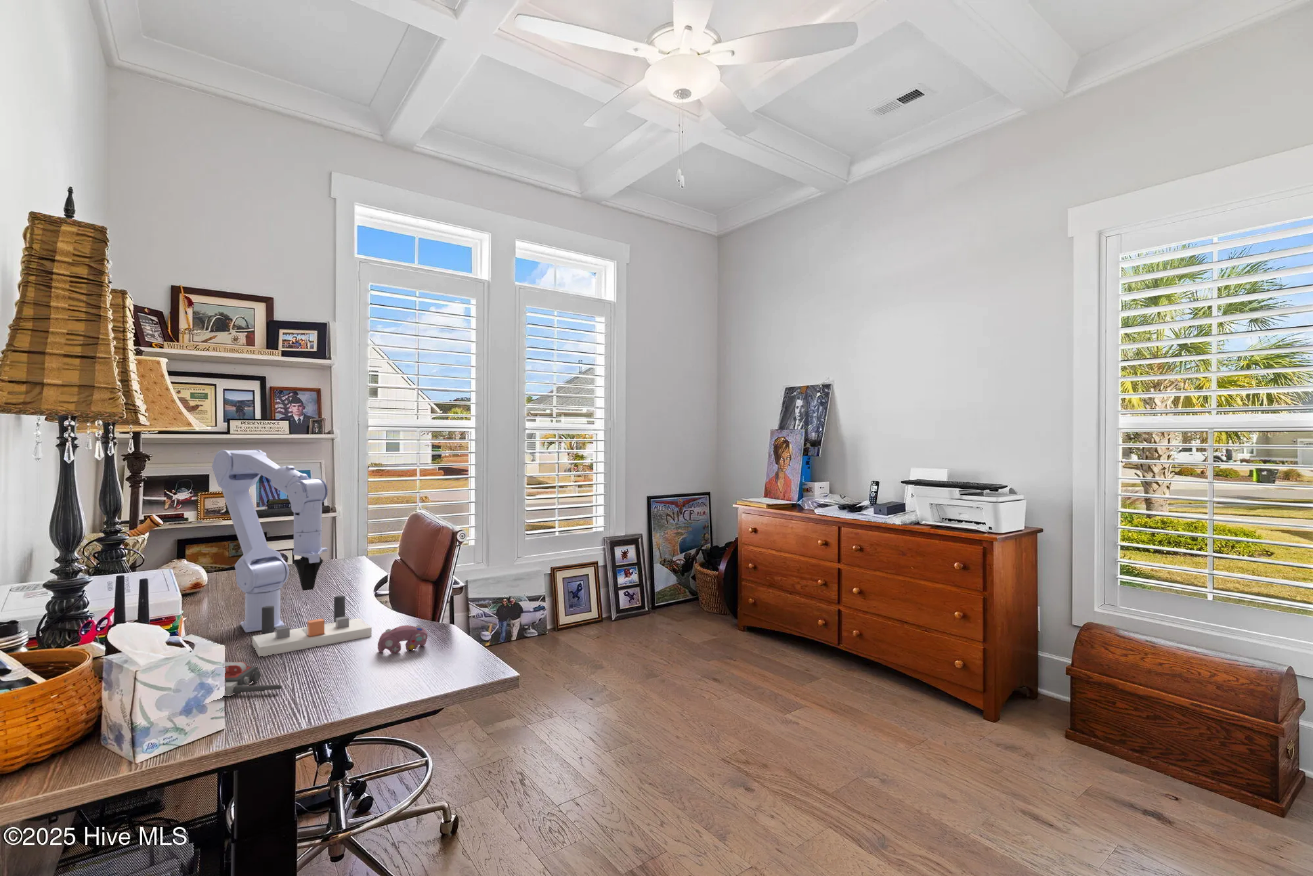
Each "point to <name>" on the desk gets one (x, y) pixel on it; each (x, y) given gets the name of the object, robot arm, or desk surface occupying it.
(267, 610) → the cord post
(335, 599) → the post
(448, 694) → the desk surface
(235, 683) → the toy chainsaw
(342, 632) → the off-white rectangular base
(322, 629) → the slide switch
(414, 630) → the video game controller
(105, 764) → the desk surface
